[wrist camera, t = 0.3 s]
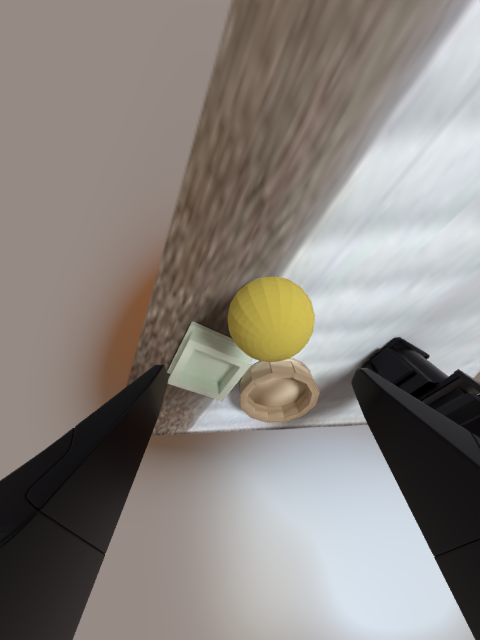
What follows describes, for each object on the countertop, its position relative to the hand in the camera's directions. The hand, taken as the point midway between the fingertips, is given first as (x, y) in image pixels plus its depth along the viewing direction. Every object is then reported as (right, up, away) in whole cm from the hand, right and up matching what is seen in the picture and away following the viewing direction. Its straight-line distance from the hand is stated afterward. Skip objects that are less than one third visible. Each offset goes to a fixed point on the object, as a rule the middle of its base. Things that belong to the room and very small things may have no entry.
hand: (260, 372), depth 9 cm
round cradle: (+4, -7, +20) cm, 22 cm away
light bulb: (+1, +6, +12) cm, 13 cm away
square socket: (-5, -3, +17) cm, 18 cm away
